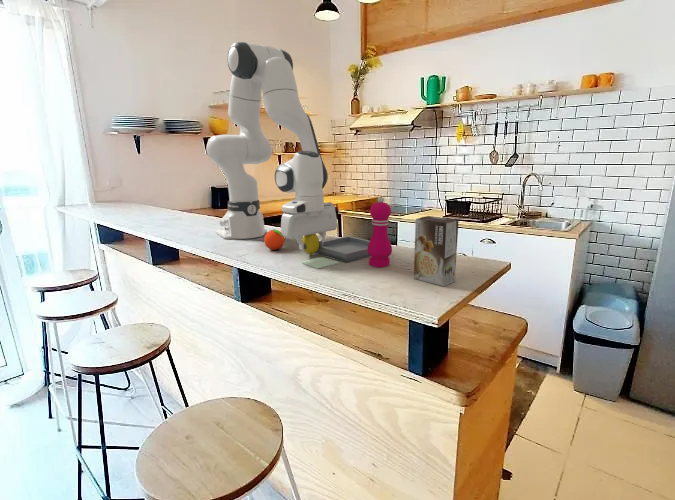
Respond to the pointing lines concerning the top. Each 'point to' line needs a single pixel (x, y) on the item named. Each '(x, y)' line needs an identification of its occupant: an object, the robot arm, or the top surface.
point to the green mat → (320, 262)
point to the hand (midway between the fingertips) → (311, 247)
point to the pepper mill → (380, 235)
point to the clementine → (274, 239)
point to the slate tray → (344, 248)
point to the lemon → (311, 243)
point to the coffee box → (435, 250)
